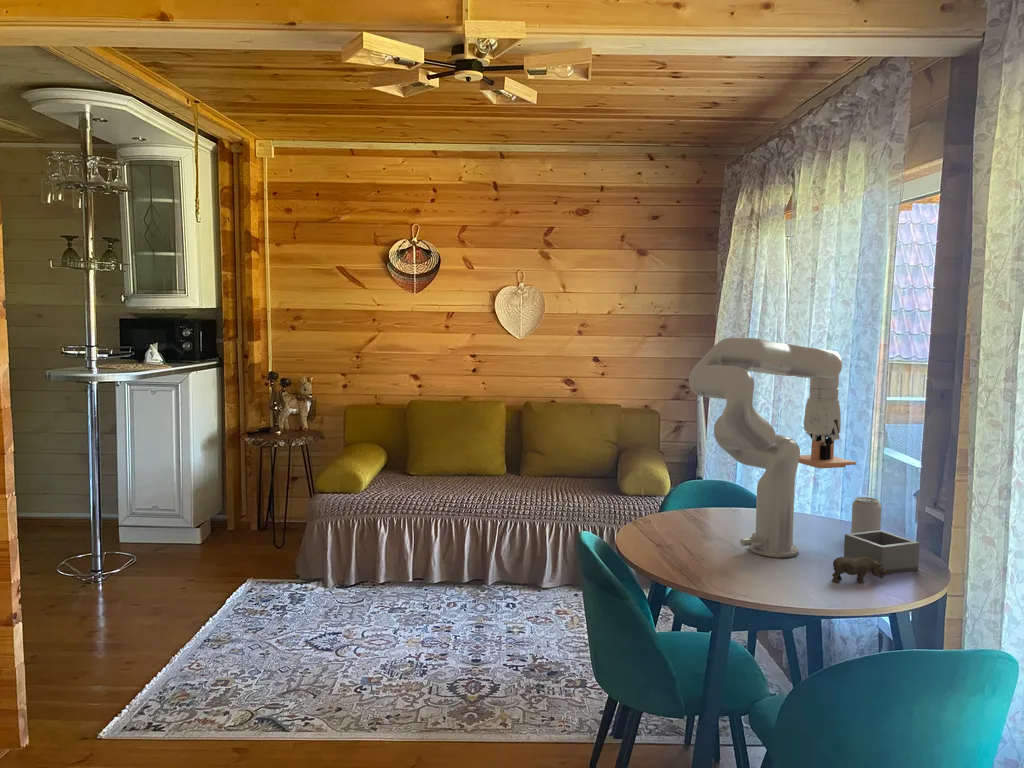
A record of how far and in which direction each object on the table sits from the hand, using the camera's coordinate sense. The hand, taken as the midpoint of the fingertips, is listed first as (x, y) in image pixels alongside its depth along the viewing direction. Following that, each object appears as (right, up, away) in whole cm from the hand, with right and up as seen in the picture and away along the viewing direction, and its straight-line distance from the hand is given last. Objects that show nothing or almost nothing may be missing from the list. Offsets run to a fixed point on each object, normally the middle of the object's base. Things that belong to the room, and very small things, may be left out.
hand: (821, 458), depth 208 cm
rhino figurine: (-5, -26, -34) cm, 43 cm away
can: (+12, -24, 0) cm, 27 cm away
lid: (0, -2, 0) cm, 2 cm away
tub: (+5, -25, -22) cm, 34 cm away
